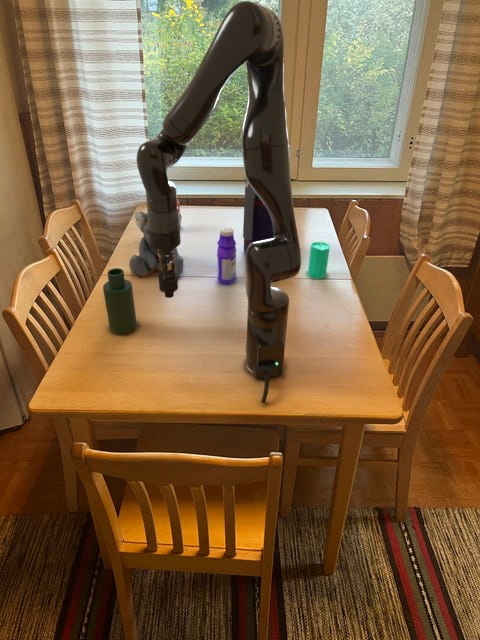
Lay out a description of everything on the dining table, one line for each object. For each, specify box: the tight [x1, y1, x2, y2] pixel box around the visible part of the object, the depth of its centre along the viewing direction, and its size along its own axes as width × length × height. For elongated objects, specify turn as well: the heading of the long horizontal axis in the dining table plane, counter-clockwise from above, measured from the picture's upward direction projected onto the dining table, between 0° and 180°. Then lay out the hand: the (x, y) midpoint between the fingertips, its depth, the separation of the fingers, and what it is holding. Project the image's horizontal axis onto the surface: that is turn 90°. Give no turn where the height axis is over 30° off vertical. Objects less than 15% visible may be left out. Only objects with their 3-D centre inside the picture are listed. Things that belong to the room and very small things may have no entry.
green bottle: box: [102, 267, 138, 336], centre depth 124 cm, size 7×7×17 cm
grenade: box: [242, 176, 274, 255], centre depth 159 cm, size 14×12×30 cm
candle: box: [307, 241, 331, 280], centre depth 152 cm, size 6×6×12 cm
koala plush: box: [128, 210, 184, 278], centre depth 153 cm, size 17×18×20 cm
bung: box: [157, 271, 179, 299], centre depth 122 cm, size 5×5×6 cm
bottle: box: [216, 226, 237, 285], centre depth 146 cm, size 7×6×17 cm
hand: (168, 287), depth 122 cm, fingers closed on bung, 4 cm apart
